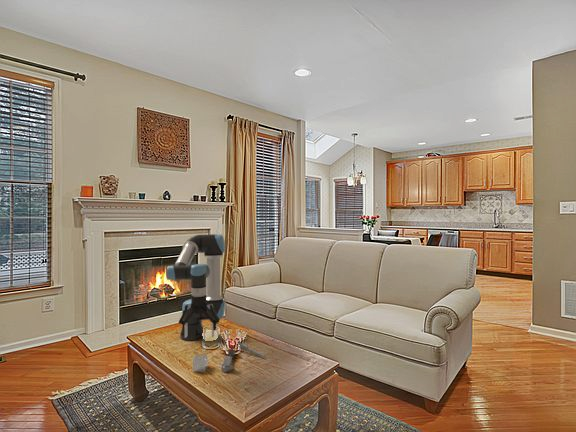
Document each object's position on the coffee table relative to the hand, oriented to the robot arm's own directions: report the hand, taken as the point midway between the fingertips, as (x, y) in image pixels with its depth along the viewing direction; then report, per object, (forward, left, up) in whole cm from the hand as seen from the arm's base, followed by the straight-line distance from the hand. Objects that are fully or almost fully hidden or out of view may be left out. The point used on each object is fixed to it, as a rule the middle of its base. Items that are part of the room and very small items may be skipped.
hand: (199, 336), depth 174 cm
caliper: (-16, +25, -17) cm, 34 cm away
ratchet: (-6, +14, -17) cm, 23 cm away
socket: (0, 0, -17) cm, 17 cm away
